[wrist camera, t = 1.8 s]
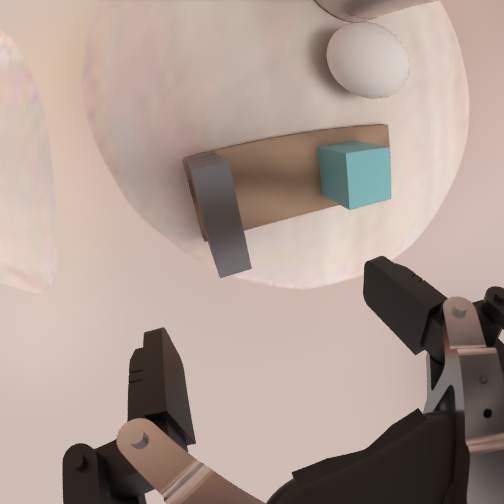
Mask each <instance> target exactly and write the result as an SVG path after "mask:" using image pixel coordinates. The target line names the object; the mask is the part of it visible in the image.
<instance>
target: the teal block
mask: <svg viewBox="0 0 504 504" xmlns="http://www.w3.org/2000/svg"><path fill="white" fill-rule="evenodd" d="M317 151H318V159H319V167H320V176H321V186H322V195H323V196H325V197H327V198H329V199H331V200H332V201H334V202H336V203H338V204H340V205H342V206H343V207H345V208H347V209H349V210H351V209H355V208H358V207H362V206H366V205H370V204H373V203H377V202H381V201H385V200H388V199H391V164H390V147H386V146H381V145H376V144H371V143H366V142H360V141H356V142H348V143H341V144H334V145H327V146H321V147H317Z"/></svg>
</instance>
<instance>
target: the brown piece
mask: <svg viewBox="0 0 504 504" xmlns="http://www.w3.org/2000/svg"><path fill="white" fill-rule="evenodd" d="M356 141H360V142H366V143H371V144H376V145H381V146H386V147H389V133H388V125H384V124H379V125H366V126H354V127H344V128H335V129H327V130H319V131H312V132H305V133H298V134H292V135H286V136H280V137H274V138H269V139H263V140H258V141H253V142H248V143H243V144H239V145H234V146H230V147H225V148H221V149H217V150H213V151H209V152H205V153H201V154H197V155H193V156H189V157H186V158H183V162H184V166H185V170H186V174H187V178H188V182H189V186H190V189H191V193H192V197H193V201H194V205H195V208H196V212H197V216H198V220H199V223H200V227H201V230H202V234H203V238H204V241H205V242H206V241H208V243H209V246H210V249H211V252H212V255H213V258H214V261H215V264H216V267H217V270H218V273H219V276H220V278H222V277H226V276H229V275H232V274H236V273H239V272H242V271H246V270H249V269H252V268H251V263H250V259H249V254H248V249H247V245H246V240H245V235H244V230H248V229H251V228H255V227H258V226H262V225H266V224H269V223H273V222H277V221H280V220H284V219H288V218H291V217H295V216H299V215H302V214H306V213H310V212H314V211H317V210H321V209H325V208H329V207H333V206H337V205H340V204H338V203H336V202H334V201H332V200H331V199H329V198H327V197H325V196H323V195H322V186H321V176H320V167H319V159H318V151H317V147H321V146H327V145H334V144H341V143H348V142H356Z"/></svg>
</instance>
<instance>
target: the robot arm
mask: <svg viewBox="0 0 504 504" xmlns="http://www.w3.org/2000/svg"><path fill="white" fill-rule="evenodd" d="M434 1H439V0H316V2H317V3H318V4H319V5H320V6H321V7H323V8H324V9H325V10H326V11H328V12H329V13H331V14H332V15H334V16H336V17H338V18H340V19H343V20H345V21H350V22H363V21H366V20H369V19H373V18H376V17H378V16H381V15H384V14H388V13H391V12H394V11H398V10H401V9H405V8H408V7H412V6H416V5H420V4H425V3H429V2H434ZM363 295H364V299H365V301H366V304H367V305H368V306H369V307H370V308H371V309H372V310H373V311H374V312H375V313H376V315H377V316H378V317H380V319H381V320H382V321H383V322H384V323H385V324H386V325H387V326H388V327H389V328H390V329H391V330H392V331H393V332H394V333H395V334H396V335H397V336H398V337H399V338H400V339H401V340H402V342H403V343H405V345H406V346H407V347H408V348H409V349H410V350H411V351H412V352H413V353H414V354H415V355H417V354H418V353H420V352H421V351H423V350H426V351H427V352H428V353H427V356H426V365H427V401H426V404H425V407H424V411H423V414H422V412H421V411H420V410H419V409H416V410H415V411H413V412H412V413H410V414H409V415H407V416H406V417H404V418H403V419H401V420H399V421H398V422H396V423H394V424H393V425H392V426H390V427H389V428H388V429H387V430H386V431H385V432H384V433H383V434H382V435H381V436H380V437H379V438H378V439H377V440H376V441H375V442H374V443H372V444H371V445H370V446H369V447H368V448H366V449H364V450H362V451H358V452H354V453H350V454H346V455H341V456H337V457H332V458H327V459H325V460H322V461H320V462H317V463H315V464H312V465H310V466H307V467H305V468H302V469H299V470H297V471H294V472H292V475H293V479H292V480H290V481H289V482H287V483H285V484H284V485H283V486H282V487H280V488H279V489H278V490H277V491H276V492H275V493H274V494H273V495H272V496H271V498H270V499H269V500H268V501H267V503H264V502H262V501H260V500H259V499H257V498H255V497H253V496H252V495H250V494H248V493H246V492H245V491H243V490H242V489H240V488H238V487H237V486H235V485H234V484H232V483H231V482H229V481H228V480H226V479H225V478H223V477H222V476H220V475H219V474H217V473H216V472H214V471H213V470H212V469H210V468H209V467H207V466H206V465H204V464H203V463H201V462H199V461H198V460H197V459H195V458H194V457H193V456H191V455H190V454H189V453H188V449H187V445H191V444H195V443H196V441H195V436H194V430H193V425H192V419H191V414H190V407H189V401H188V395H187V388H186V381H185V375H184V368H183V364H182V361H181V358H180V356H179V354H178V352H177V350H176V348H175V347H174V345H173V343H172V341H171V339H170V337H169V335H168V333H167V331H166V329H165V328H159V329H156V330H152V331H148V332H145V333H144V342H143V348H139V349H135V351H134V353H133V355H132V357H131V359H130V365H129V366H130V367H129V373H130V375H129V385H128V421H127V423H125V424H124V425H123V426H122V427H121V429H120V430H119V432H118V435H117V439H116V440H114V441H112V442H110V443H108V444H106V445H103V446H101V447H99V448H96V449H93V448H91V447H90V446H88V445H86V444H82V443H79V444H75V445H73V446H71V447H70V448H69V449H68V450H67V451H66V453H65V455H64V457H63V503H64V504H146V500H145V495H144V494H145V493H147V492H149V491H152V490H154V489H156V490H157V491H158V492H159V493H160V494H161V495H162V496H163V497H164V501H165V503H166V504H504V344H503V343H502V342H501V341H500V340H499V339H498V337H499V335H500V333H501V331H502V329H504V288H501V287H496V286H495V287H491V288H489V289H488V290H487V291H486V294H485V297H484V300H480V301H477V302H473V303H471V302H470V301H469V300H467V299H465V298H462V297H451V298H447V297H445V296H444V295H443V294H441V293H440V292H439V291H438V290H436V289H435V288H434V287H432V286H431V285H430V284H429V283H427V282H426V281H425V280H424V281H423V280H422V278H421V277H419V276H418V275H416V274H415V273H414V272H413V271H411V270H410V269H408V268H407V267H404V266H402V265H399V264H396V263H395V264H394V263H393V262H391V261H390V260H389V259H387V258H386V257H384V256H380V257H377V258H375V259H372V260H369V261H367V262H366V263H365V266H364V286H363Z"/></svg>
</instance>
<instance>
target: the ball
mask: <svg viewBox="0 0 504 504" xmlns="http://www.w3.org/2000/svg"><path fill="white" fill-rule="evenodd" d="M327 62H328V67H329V69H330V71H331V73H332V75H333V77H334V78H335V79H336V80H337V82H338V83H339V84H340V85H341V86H343V87H344V88H345V89H346V90H348V91H350V92H352V93H353V94H355V95H357V96H361V97H365V98H371V99H377V98H384V97H388V96H390V95H392V94H394V93H396V92H397V91H398V90H399V89H400V88H402V87H403V86H404V84H405V82H406V80H407V78H408V75H409V71H410V61H409V56H408V53H407V51H406V48H405V47H404V45H403V43H402V42H401V41H400V39H399V38H398V37H397V36H396V35H395V34H393V33H392V32H391V31H389V30H388V29H386V28H385V27H383V26H380V25H378V24H374V23H369V22H356V23H351V24H347V25H345V26H344V27H342V28H340V29H339V30H338V31H336V32H335V33H334V35H333V36H332V37H331V39H330V41H329V44H328V47H327Z"/></svg>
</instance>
